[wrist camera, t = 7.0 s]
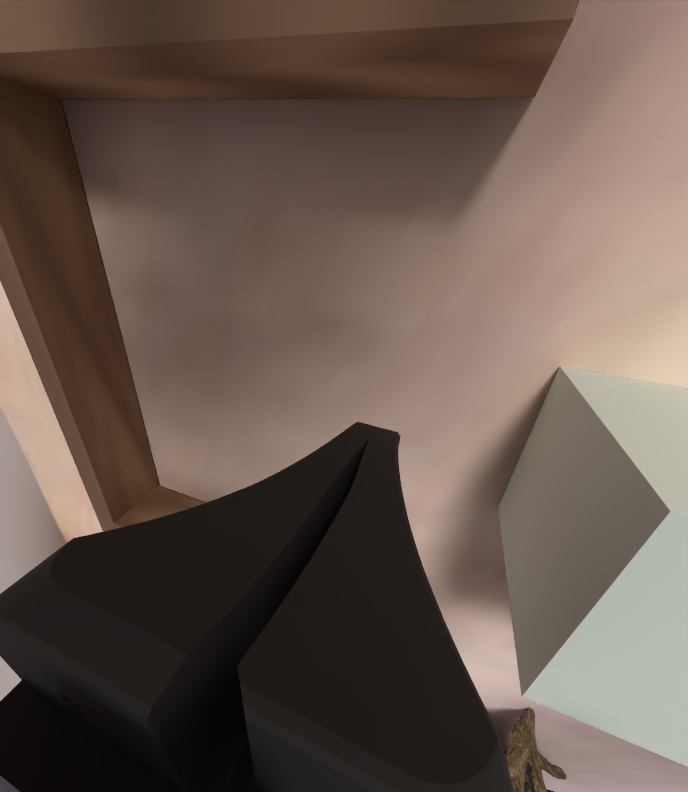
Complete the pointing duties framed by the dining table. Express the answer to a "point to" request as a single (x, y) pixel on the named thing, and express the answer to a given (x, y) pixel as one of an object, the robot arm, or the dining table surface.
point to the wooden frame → (195, 79)
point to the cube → (604, 557)
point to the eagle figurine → (528, 758)
